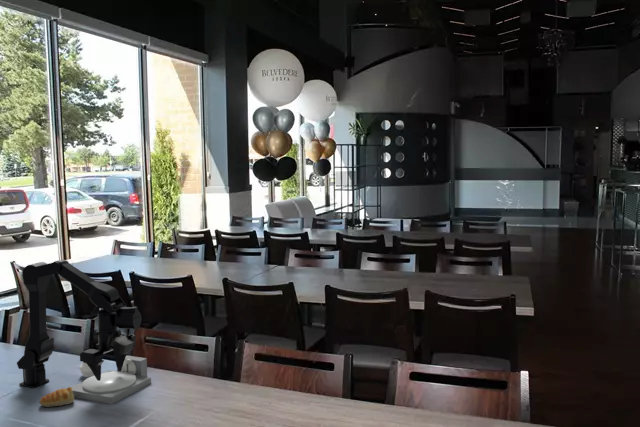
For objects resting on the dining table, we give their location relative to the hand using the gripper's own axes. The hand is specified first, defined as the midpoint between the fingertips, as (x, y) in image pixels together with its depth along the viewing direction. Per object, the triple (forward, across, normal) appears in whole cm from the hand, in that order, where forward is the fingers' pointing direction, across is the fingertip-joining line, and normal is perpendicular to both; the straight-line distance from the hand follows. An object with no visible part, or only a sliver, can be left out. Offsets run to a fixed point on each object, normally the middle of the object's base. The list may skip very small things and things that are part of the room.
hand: (109, 375), depth 181 cm
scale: (+4, 0, 0) cm, 4 cm away
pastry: (+5, -15, +9) cm, 18 cm away
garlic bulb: (+5, +6, +15) cm, 17 cm away
